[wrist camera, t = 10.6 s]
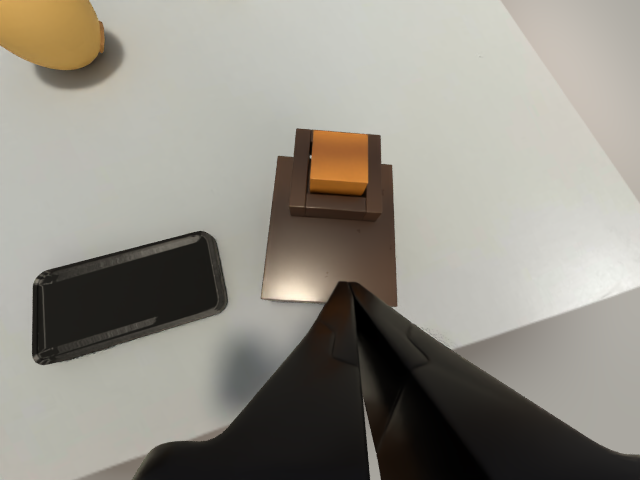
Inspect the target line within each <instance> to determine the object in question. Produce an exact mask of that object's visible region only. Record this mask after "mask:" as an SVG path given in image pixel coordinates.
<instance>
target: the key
mask: <svg viewBox="0 0 640 480" xmlns="http://www.w3.org/2000/svg"><path fill="white" fill-rule="evenodd" d="M367 184H368V135H366V134H354V133H342V132H330V131H317V130H314V132H313V145H312V159H311V173H310V193H323V194H337V195H350V196H362V194H363V192H364V190H365V188H366V186H367Z"/></svg>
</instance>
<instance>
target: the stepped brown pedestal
mask: <svg viewBox="0 0 640 480" xmlns="http://www.w3.org/2000/svg"><path fill="white" fill-rule="evenodd" d="M317 131H322V130H317ZM313 132H314V130H310V129H298V128H297V129H296V137H295V147H294V157H285V156H278V159H277V168H276V176H275V184H274V193H273V201H272V209H271V218H270V226H269V234H268V243H267V251H266V259H265V268H264V276H263V284H262V293H261V299H264V300H269V301H282V302H300V303H318V304H326V302H327V300H328V298H329V297H330V295H331V293H332V291H333V290H334V288H335V286H336V285H337V283H338V281H347V282H358V283H359V284H361V285H362V286H363V287H365V288H366V289H367V290H369V291H370V292H371V293H373V294H374V295H375V296H377V297H378V298H379V299H381V300H382V301H383V302H385V303H386V304H387V305H389V306H390V307H397V285H396V258H395V231H394V203H393V176H392V165H387V164H381V136H380V135H372V134H366V135H368V184H367V186H366V188H365V190H364V192H363V194H362V196H350V195H337V194H323V193H310V173H311V159H310V155H312V145H313ZM330 132H334V131H330ZM342 133H346V132H342ZM354 134H358V133H354Z"/></svg>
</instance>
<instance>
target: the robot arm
mask: <svg viewBox="0 0 640 480" xmlns="http://www.w3.org/2000/svg"><path fill="white" fill-rule="evenodd" d="M362 394H363V395H362ZM363 398H364V402H365V407H366V411H367V415H368V420H369V424H370V429H371V433H372V437H373V442H374V446H375V450H376V453H377V459H378V464H379V470H380V476H381V480H640V455H630V454H622V453H618V452H615V451H612V450H610V449H608V448H606V447H604V446H601V445H599V444H598V443H596V442H594V441H592V440H591V439H589V438H588V437H586V436H584V435H583V434H581V433H580V432H578V431H577V430H575V429H573V428H572V427H570V426H569V425H567V424H566V423H564V422H563V421H561V420H560V419H558V418H556V417H555V416H553V415H552V414H550V413H548V412H547V411H546V410H544V409H542V408H541V407H539V406H538V405H536V404H534V403H533V402H532V401H530V400H528V399H527V398H525V397H523V396H522V395H521V394H519V393H517V392H516V391H514V390H513V389H511V388H510V387H508V386H507V385H505V384H503V383H502V382H500V381H499V380H497V379H496V378H494V377H492V376H491V375H489V374H488V373H486V372H485V371H483V370H481V369H480V368H478V367H477V366H475V365H474V364H472V363H471V362H469V361H468V360H466V359H465V358H462V357H461V356H460V355H458V354H457V353H455V352H454V351H452V350H451V349H449V348H447V347H446V346H444V345H443V344H441V343H440V342H438V341H437V340H435V339H434V338H432V337H431V336H430V335H428V334H427V333H425V332H424V331H423V330H421V329H420V328H419V327H417V326H416V325H415V324H412V323H411V322H410V321H409V320H407V319H406V318H405V317H403V316H402V315H401V314H399V313H398V312H397V311H395V310H394V309H393V308H391V307H390V306H389V305H387V304H386V303H385V302H383V301H382V300H381V299H379V298H378V297H377V296H375V295H374V294H373V293H371V292H370V291H369V290H367V289H366V288H365V287H363V286H362V285H361V284H359V283H358V282H347V281H338V283H337V285H336V286H335V288H334V290H333V291H332V293H331V295H330V297H329V298H328V300H327V302H326V304H325V305H324V307H323V309H322V311H321V312H320V314H319V316H318V318H317V319H316V321H315V322H314V324H313V326H312V327H311V329H310V330H309V332H308V333H307V335H306V336H305V337H304V338H303V340H302V341H301V342H300V343H299V345H298V346H297V347H296V348H295V349H294V350H293V352H292V353H291V354H290V355H289V356H288V357H287V359H286V360H285V361H284V362H283V363H282V365H281V366H280V367H279V368H278V369H277V370H276V372H275V373H274V374H273V375H272V376H271V377H270V379H269V380H268V381H267V382H266V383H265V385H264V386H263V387H262V388H261V389H260V390H259V392H258V393H257V394H256V395H255V396H254V397H253V399H252V400H251V401H250V402H249V403H248V404H247V406H246V407H245V408H244V409H243V410H242V412H241V413H240V414H239V415H238V416H237V417H236V419H235V420H234V421H233V422H232V423H231V424H230V426H229V427H228V428H227V429H226V430H225V431H224V432H223V433H222V434H220V435H218V436H217V437H215V438H213V439H210V440H208V441H200V442H198V441H196V442H195V441H175V442H168V443H164V444H161V445H159V446H157V447H155V448H154V449H152V450H151V451H150V452H149V453H148V455H147V456H146V458H145V459H144V461H143V462H142V464H141V466H140V467H139V468H138V470H137V472H136V474H135V475H134V477H133V479H132V480H370V474H369V462H368V451H367V440H366V429H365V417H364V407H363Z"/></svg>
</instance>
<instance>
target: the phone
mask: <svg viewBox="0 0 640 480" xmlns="http://www.w3.org/2000/svg"><path fill="white" fill-rule="evenodd" d="M226 304H227V295H226V290H225V285H224V280H223V275H222V270H221V265H220V260H219V255H218V250H217V245H216V241H215V239H214V238H213V237H212V236H211V235H209V234H208V233H206V232H203V231H197V232H193V233H189V234H185V235H182V236H178V237H174V238H170V239H166V240H162V241H158V242H154V243H151V244H147V245H143V246H139V247H135V248H131V249H127V250H123V251H120V252H116V253H112V254H108V255H104V256H100V257H96V258H93V259H89V260H85V261H81V262H77V263H73V264H69V265H65V266H62V267H58V268H54V269H50V270H47V271H44V272H42V273H41V274H40V275H39V276H38V277H37V278H36V279H35V281H34V284H33V322H32V356H33V359H34V361H35V362H36V363H38V364H40V365H47V364H52V363H56V362H61V361H66V360H69V359H73V358H75V357H78V356H83V355H86V354H90V353H93V352H95V351H100V350H104V349H107V348H110V346H114V345H117V344H120V343H123V342H127V341H130V340H133V339H136V338H140V337H143V336H146V335H149V334H153V333H156V332H159V331H163V330H166V329H169V328H172V327H176V326H179V325H182V324H185V323H189V322H192V321H195V320H198V319H202V318H205V317H208V316H212V315H215V314H217V313H220V312H221V311H222V310H223V309H224V308H225V306H226Z"/></svg>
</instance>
